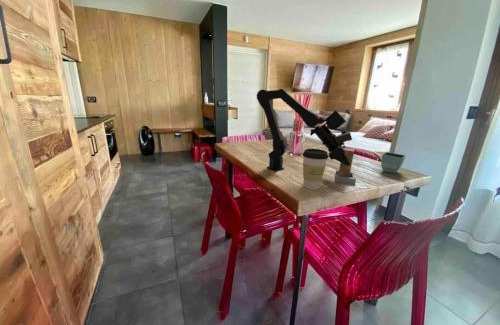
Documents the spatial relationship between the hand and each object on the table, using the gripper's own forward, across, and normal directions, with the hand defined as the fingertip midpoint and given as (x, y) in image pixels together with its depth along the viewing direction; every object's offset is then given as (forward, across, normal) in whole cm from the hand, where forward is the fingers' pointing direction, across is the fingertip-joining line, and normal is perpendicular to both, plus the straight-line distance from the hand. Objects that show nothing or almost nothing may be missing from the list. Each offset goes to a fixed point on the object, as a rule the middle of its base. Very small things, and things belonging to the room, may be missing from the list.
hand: (349, 163), depth 96 cm
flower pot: (+20, +24, -9) cm, 33 cm away
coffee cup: (-4, -16, +15) cm, 22 cm away
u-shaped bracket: (+4, 0, +6) cm, 8 cm away
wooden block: (+4, 0, +6) cm, 7 cm away
